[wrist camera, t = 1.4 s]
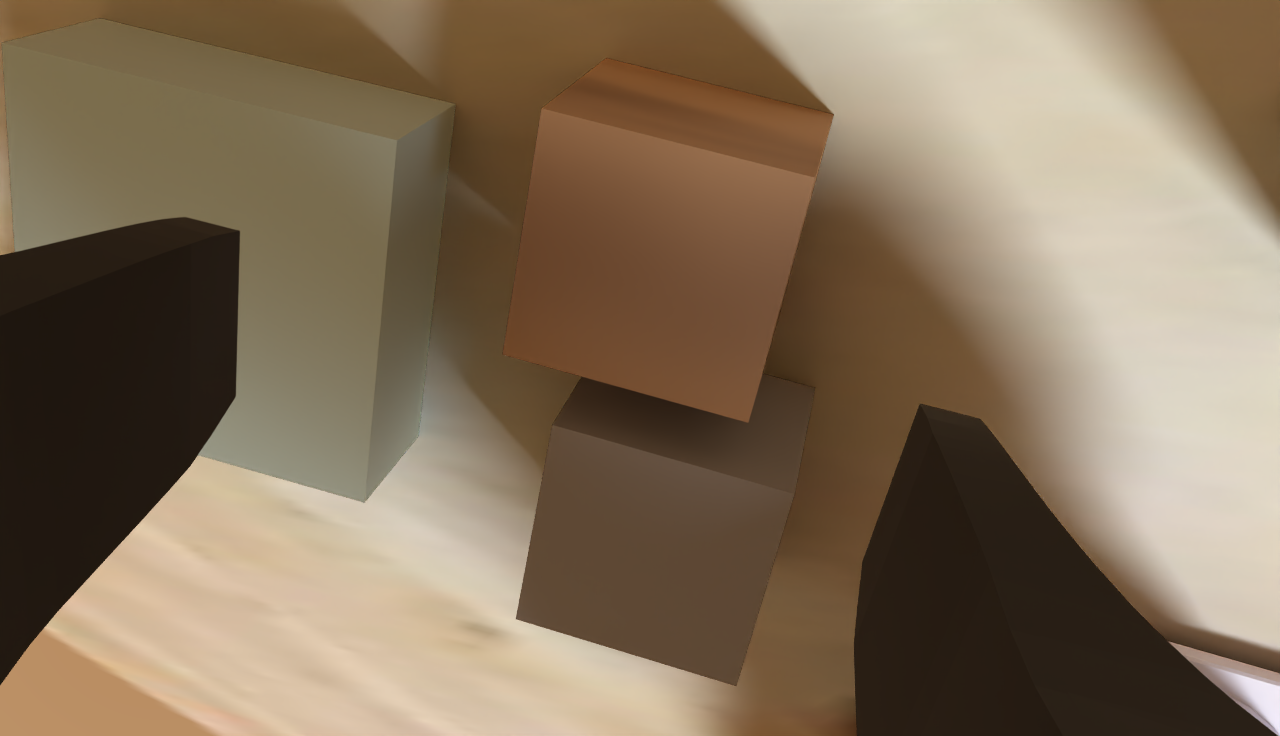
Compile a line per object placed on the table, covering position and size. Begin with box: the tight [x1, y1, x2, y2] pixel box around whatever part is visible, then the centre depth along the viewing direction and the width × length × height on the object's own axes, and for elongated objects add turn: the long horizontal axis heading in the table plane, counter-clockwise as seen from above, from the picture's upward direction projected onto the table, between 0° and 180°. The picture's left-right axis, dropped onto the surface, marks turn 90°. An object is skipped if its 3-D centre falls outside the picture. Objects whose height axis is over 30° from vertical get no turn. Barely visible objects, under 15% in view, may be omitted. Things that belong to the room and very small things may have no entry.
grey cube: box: [516, 374, 815, 686], centre depth 22 cm, size 4×4×4 cm
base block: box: [2, 18, 456, 503], centre depth 22 cm, size 7×7×3 cm
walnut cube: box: [503, 58, 834, 423], centre depth 20 cm, size 4×4×4 cm
